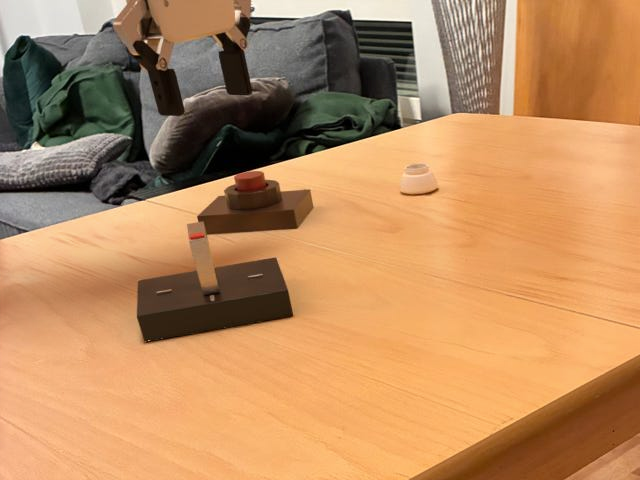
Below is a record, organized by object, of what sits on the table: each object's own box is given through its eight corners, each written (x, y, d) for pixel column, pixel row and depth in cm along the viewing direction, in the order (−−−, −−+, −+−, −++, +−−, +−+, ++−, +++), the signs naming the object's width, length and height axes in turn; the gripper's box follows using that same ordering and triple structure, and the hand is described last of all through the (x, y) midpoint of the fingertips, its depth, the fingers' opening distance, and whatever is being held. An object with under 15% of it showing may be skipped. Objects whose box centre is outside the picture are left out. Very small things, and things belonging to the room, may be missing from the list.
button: (233, 195, 116) (230, 179, 115) (242, 187, 119) (238, 172, 118) (262, 193, 116) (259, 177, 115) (270, 185, 119) (267, 169, 118)
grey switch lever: (200, 276, 96) (186, 221, 93) (216, 273, 96) (202, 218, 93) (203, 295, 91) (188, 237, 88) (220, 292, 92) (205, 235, 88)
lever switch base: (144, 342, 90) (135, 314, 88) (145, 305, 98) (137, 278, 97) (293, 316, 92) (287, 288, 90) (281, 281, 101) (275, 255, 99)
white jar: (445, 186, 125) (413, 185, 127) (443, 161, 123) (410, 160, 125) (425, 197, 122) (392, 195, 124) (422, 172, 120) (389, 170, 122)
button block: (201, 235, 117) (192, 200, 114) (222, 214, 124) (214, 180, 121) (297, 228, 116) (290, 193, 113) (313, 207, 123) (307, 173, 120)
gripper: (197, -109, 96) (239, 87, 106) (55, -94, 85) (118, 122, 95) (252, -116, 92) (290, 88, 103) (112, -101, 81) (170, 125, 92)
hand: (207, 104), depth 99 cm, fingers open, 9 cm apart
